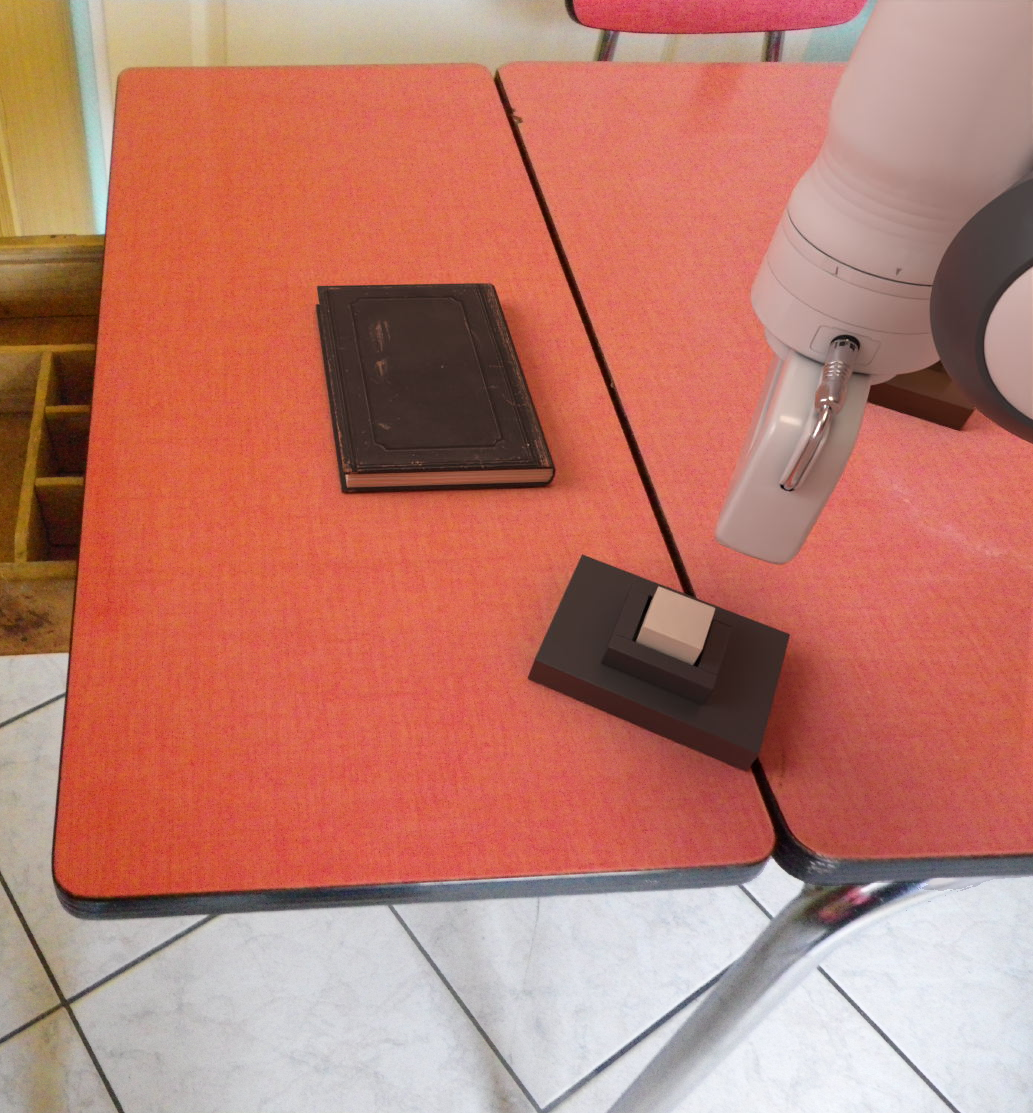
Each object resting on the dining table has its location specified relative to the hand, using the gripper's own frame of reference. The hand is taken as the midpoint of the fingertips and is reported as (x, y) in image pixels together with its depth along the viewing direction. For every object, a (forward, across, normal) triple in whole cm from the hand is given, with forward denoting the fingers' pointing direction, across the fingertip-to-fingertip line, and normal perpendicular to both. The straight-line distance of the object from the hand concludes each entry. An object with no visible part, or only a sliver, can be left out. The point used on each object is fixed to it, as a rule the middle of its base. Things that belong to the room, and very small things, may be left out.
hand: (751, 497), depth 56 cm
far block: (+15, +40, -10) cm, 44 cm away
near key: (+11, -2, +1) cm, 11 cm away
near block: (+15, -2, +1) cm, 15 cm away
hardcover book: (+15, +16, +25) cm, 33 cm away
